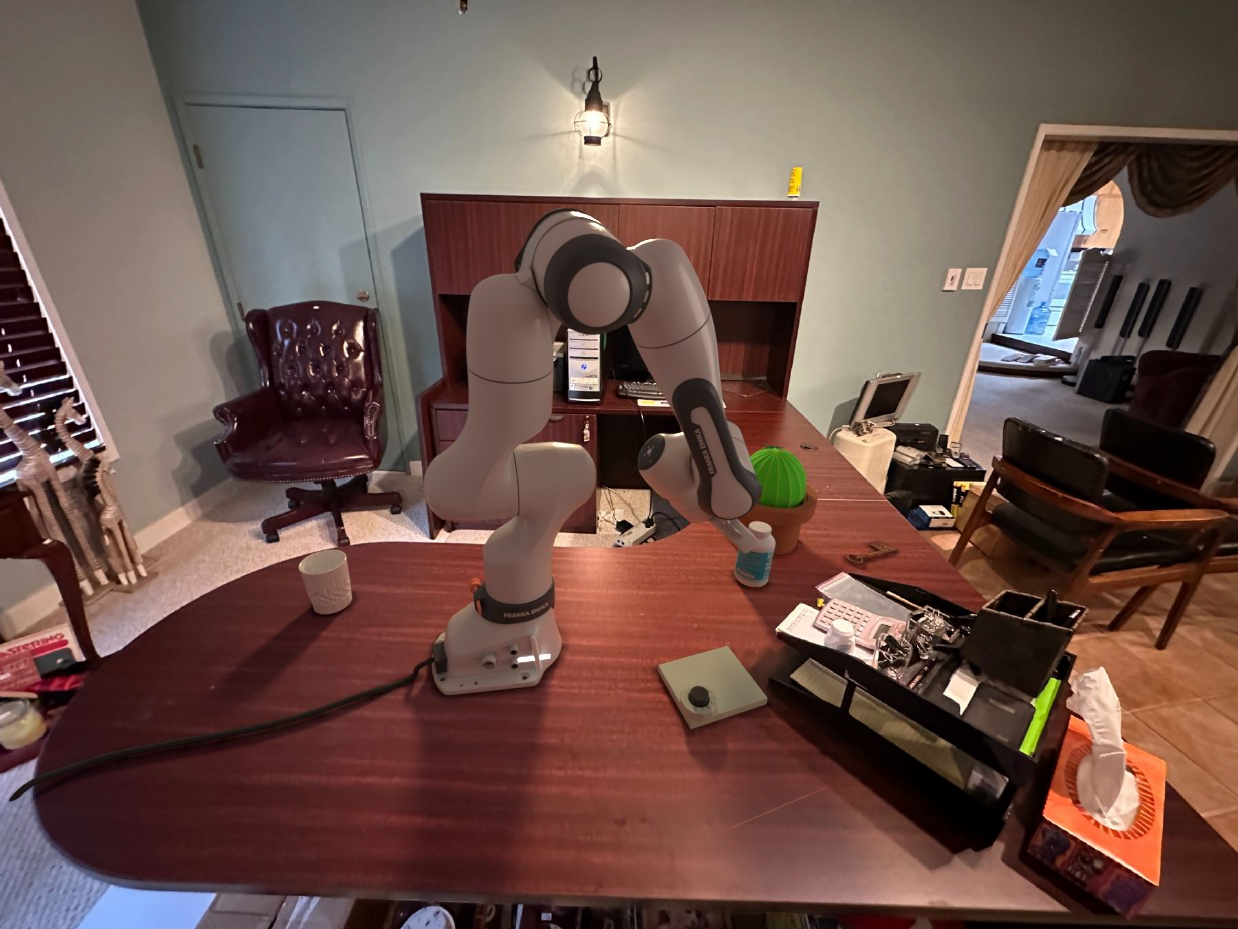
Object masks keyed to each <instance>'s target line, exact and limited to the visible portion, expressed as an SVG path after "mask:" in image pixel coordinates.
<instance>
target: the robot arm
mask: <svg viewBox="0 0 1238 929" xmlns="http://www.w3.org/2000/svg"><path fill="white" fill-rule="evenodd" d="M513 268H514V271H515V273H499V274H495V275H492V276H488V277H486V278H484V279H482V280H481V281H479V282H478V283H477V284H476V285H475V287H474V288H473V289H472V291H471V294H470V298H469V302H468V311H467V322H466V338H465V345H466V348H465V349H466V367H467V368H466V369H467V383H468V384H467V385H468V386H467V387H468V405H467V406H468V409H467V417H466V420H465V423H464V426H463V428H462V430H461V432H460V434H458V436H457V438H456V439H455V440H454V442H453V443H452V444H450V446H449V447H448V448H446V449H445V450H444V451H442V452H441V453H439V454H438V455H436V456H435V457H434V458H433V459H432V460H431V462H430V463H429V465H427V468H426V470H425V472H424V476H423V481H422V482H423V483H422V489H423V496H424V500H425V501H426V504H427V505H428V507H429V509H430V510H431V511H432V512H433V514H435V516H437V517H438V518H439V519H440V520H444V521H457V522H473V523H474V522H482V521H483V522H484V521H489V520H498V519H505V518H511V519H510V520H509V521H507V522H506V523H504V524H503V525H501V526H500V527H498V528H496V529H495V530H494V531H493V532H492V533H491V534H490V536H489V537H488V538H487V540H486V541H485V544H484V546H483V548H482V562H483V576H484V581H483V582H481V579H480V578H479V577H472V578H470V579H469V581H468V587H469V589H468V590H469V592H470V593H472V594H473V596H472V597H473V600H472V601H471V602H470V603H468V604H467V605H466V606H464V607H463V608H461V609H460V610H459V611H457V612H456V613H454V614H453V615H452V616H451V617H450V619H449V620H448V622H447V625H446V627H445V631H444V632H442V633H440V634H439V636H438V637H437V638H436V640H435V643H434V644H431V645H430V646H431V648H430V649H431V657H430V658H427V659H425V660H423V661H420V662H419V663H418V664H417V665H415V666H414V667H413V671H412V673H411V674H410V675H408V676H406V677H405V678H403V679H400V680H399V681H395V682H393V683H389V684H386V685H383V686H378V687H376V688H370V689H367V690H364V691H362V692H358V693H356V694H353V695H351V696H348V697H345V698H342V699H339V700H336V701H334V702H331V703H328V704H326V705H323V706H320V707H317V708H314V709H311V710H308V711H305V712H301V713H298V714H295V715H294V714H293V715H291V716H286V717H284V718H279V719H276V720H271V721H266V722H263V723H258V724H253V725H252V724H251V725H248V726H242V727H238V728H232V729H228V730H223V731H218V732H212V733H205V734H200V735H192V736H187V737H181V738H176V739H175V738H174V739H170V740H165V741H159V742H155V743H150V744H149V743H148V744H143V745H139V746H134V747H128V748H123V749H118V750H114V751H109V752H107V753H103V754H99V755H96V756H93V757H90V758H89V757H88V758H86V759H83V760H79V761H77V762H74V763H70V764H67V765H64V766H61V767H58V768H55V769H53V770H49V771H46V772H44V773H42V774H40V775H38V776H35V777H33V778H32V779H29V780H28V781H27V782H25V783H24V784H22V785H21V786H19V787H18V788H17V789H16V790H15V791H14V792H13V794H12V795H11V796H10V797H9V799H8V802H9V803H11V802H14V801H16V800H18V799H20V798H21V797H22V796H23V795H24V794H25V793H26V792H28V791H29V790H30V789H32V788H33V787H35V786H37V785H38V784H41V783H43V782H45V781H48V780H50V779H52V778H55V777H59V776H61V775H65V774H68V773H71V772H73V771H76V770H80V769H83V768H86V767H89V766H93V765H95V764H99V763H102V762H105V761H109V760H113V759H118V758H121V757H126V756H131V755H137V754H142V753H147V752H152V751H159V750H162V749H168V748H174V747H178V746H183V745H190V744H196V743H203V742H208V741H214V740H220V739H225V738H231V737H234V736H238V735H239V736H240V735H244V734H249V733H254V732H260V731H264V730H268V729H273V728H277V727H280V726H285V725H288V724H292V723H295V722H299V721H302V720H305V719H309V718H311V717H314V716H317V715H322V714H323V713H327V712H329V711H332V710H335V709H337V708H340V707H343V706H346V705H348V704H351V703H354V702H355V701H356V702H357V701H358V700H361V699H364V698H367V697H371V696H375V695H378V694H381V693H385V692H387V691H390V690H393V689H395V688H398V687H401V686H404V685H406V684H408V683H410V682H412V681H414V679H416V678H417V677H418V676H419V674H420V670H422V669H423V668H425V667H426V666H429V665H431V671H432V677H433V681H434V683H435V685H436V687H437V689H438V690H439V691H440V692H441V693H442V694H443V695H445V696H458V695H466V694H474V693H475V694H476V693H484V692H492V691H493V692H494V691H503V690H511V689H519V688H520V689H522V688H530V687H534V686H536V685H538V684H539V683H540V681H541V679H542V677H543V675H544V673H545V671H546V670H547V669H548V668H549V667H550V666H551V665H553V663H554V662H555V661H556V660H557V658H558V657H559V655H560V653H561V651H562V648H563V640H562V639H563V638H562V634H561V633H560V630H559V628H558V625H557V621H556V615H555V611H554V610H555V605H556V604H555V603H556V602H555V601H556V584H555V579H554V577H553V575H552V574H553V573H552V571H553V570H552V567H553V554H554V545H555V542H556V539H557V536H558V534H559V532H560V531H561V529H562V528H563V526H564V524H565V523H566V521H567V520H568V519H569V518H570V516H571V515H572V514H574V513H575V511H577V510H578V509H579V508H580V507H581V506H582V505H585V504H586V503H587V502H588V501H589V500H590V498H591V497H592V495H593V493H594V490H595V488H596V484H597V468H596V464H595V462H594V460H593V458H592V456H591V454H590V453H589V452H588V450H586V448H585V447H583V446H582V445H581V444H576V443H569V442H559V441H558V442H557V441H546V442H545V441H544V442H534V443H533V442H532V443H525V442H526V441H529V440H530V439H532V438H533V437H535V436H536V435H538V434H539V433H540V432H541V431H543V429H544V428H545V427H546V426H547V424H548V423H549V421H550V418H551V416H552V413H553V398H554V397H553V396H554V394H553V393H554V359H555V355H554V354H555V351H554V345H555V342H556V337H557V334H558V331H559V329H560V327H561V326H562V325H563V326H565V327H566V328H568V329H569V330H571V331H574V332H576V333H578V334H582V335H587V336H597V335H598V336H599V335H603V334H608V333H611V332H613V331H615V330H617V329H619V328H621V327H623V326H627V327H628V329H629V332H630V335H631V337H632V340H633V342H634V344H635V347H636V348H637V351H638V353H639V354H640V357H641V359H642V360H643V362H644V364H645V366H646V368H647V370H648V371H649V373H650V375H651V376H652V378H653V380H654V381H655V383H656V385H657V387H658V388H659V390H660V392H661V393H662V395H663V397H664V399H665V401H666V402H667V404H668V406H669V407H670V409H671V412H672V413H673V414H674V416H675V418H676V420H677V422H678V424H679V426H680V429H681V432H678V433H657V434H654V435H652V436H651V437H650V438H648V440H646V441H645V443H644V444H643V445H642V447H641V448H640V450H639V452H638V457H637V469H638V472H639V474H640V476H641V477H642V478H643V480H644V481H645V482H646V483H647V484H648V485H649V487H650V488H651V489H652V490H653V491H654V492H655V493H656V494H658V495H659V497H661V498H662V499H664V500H667V501H668V503H669V504H670V506H671V507H672V508H673V509H674V510H675V511H676V512H678V513H679V515H681V516H682V518H684V519H685V520H687V522H689V523H691V524H697V525H699V524H703V523H709V524H711V526H713V527H714V528H715V529H716V530H717V531H718V532H719V533H720V534H721V535H722V536H724V537H725V539H727V540H728V541H729V542H730V543H731V544H733V545H734V546H735V547H736V548H737V550H738V549H739V550H741V551H742V552H743V553H745V554H746V553H748V552H750V551H751V550H752V549H753V548H754V547H755V545H756V544H757V542H758V539H757V538H756V537H755V536H754V535H753V534H752V533H751V532H750V531H749V530H748V529H747V528H746V527H745V526H744V525H743V524H742V523H741V522H740V521H739V520H738V518H741V517H743V516H745V515H746V514H748V513H749V512H750V511H751V510H752V509H753V508H754V507H755V506H756V504H757V503H758V501H759V500H760V498H761V496H762V487H761V484H760V482H759V480H758V478H757V476H756V474H755V471H754V468H753V465H752V462H751V459H750V457H751V455H750V454H749V451H748V448H747V445H746V442H745V439H744V437H743V434H742V431H741V429H740V427H739V425H737V424H736V423H735V422H733V421H731V420H728V419H727V417H726V412H725V407H724V400H723V390H722V381H721V370H720V362H719V360H720V359H719V350H718V342H717V341H718V340H717V336H716V330H715V324H714V320H713V316H712V312H711V308H710V306H709V302H708V299H707V296H706V294H705V291H704V288H703V286H702V284H701V281H700V279H699V276H698V274H697V272H696V270H695V268H694V267H693V264H692V262H691V261H690V259H689V257H688V255H687V254H686V252H685V250H684V249H683V248H682V247H681V245H679V244H678V243H677V242H676V241H673V240H671V239H668V238H653V239H648V240H644V241H642V242H640V243H638V244H636V245H634V246H631V247H626V246H625V245H624V244H623V243H622V242H621V241H620V240H619V239H618V238H617V237H615V236H614V234H613V232H611V230H610V229H608V228H607V226H605V225H604V224H602V223H601V222H600V221H598V220H597V219H595V218H593V217H592V216H591V215H589V214H588V213H587V212H584V211H582V210H580V209H576V208H572V207H560V208H556V209H552V210H549V211H548V212H546V213H544V214H543V215H541V216H540V217H539V218H538V219H537V221H536V222H535V223H534V224H533V226H532V227H531V229H530V231H529V233H528V235H527V237H526V239H525V240H524V243H523V245H522V246H521V248H520V249H519V252H518V254H517V256H516V257H515V259H514V262H513ZM481 583H482V584H481ZM34 778H35V779H34Z"/></svg>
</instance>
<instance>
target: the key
mask: <svg viewBox="0 0 1238 929" xmlns="http://www.w3.org/2000/svg"><path fill="white" fill-rule="evenodd" d="M869 545H870V547H873V548H874V549H877V550H878V551H875V552H870V553H865V554H861V555H859V556H858V555H855V554H848V555H846V559H847V560H848V561H849V562H851V563H852V564H856V565H861V564H863V563H864V559H869V558H871V557H876V556H879V555H880V556H881V555H884V554H887V553H891V552H895V551H897V547H891V546H889V545H887V544H885V543H884V542H882V541H878V542H874V543H870V544H869ZM852 558H854V559H855V560H854V559H852ZM858 560H859V561H858Z"/></svg>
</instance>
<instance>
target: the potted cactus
mask: <svg viewBox="0 0 1238 929" xmlns="http://www.w3.org/2000/svg"><path fill="white" fill-rule="evenodd" d="M792 452H793V451H788V450H787V448H784V447H783V446H781V445H780V446H779V445H776V446H774V445H772V444H767V445H764V447H762V448H761V449H760V450H757V451H755V452H754V453H753V454H752V455H750V459H751V462H752V465H753V468H754V471H755V474H756V476H757V478H758V480H759V482H760V484H761V487H762V496H761V498H760V500H759V501H758V503H757V504H756V506H755V507H754V508H753V509H752V510H751V511H750V512H749V513H748V514H746V515H745V516H743V517H741V518H738V520H739V521H740V522H741V523H742V524H743V525H744V526H745V527H746V528H747V529H748V528H749V524H750V523H751V522H755V521H759V522H764V523H766V524H768V525H770V526H771V529H772V530H771V535H772V536H773V538H774V540H775V549H774V554H773V556H782V555H783V556H784V555H786V554H789V553H791V552H792V551H793V550H794V549H795V548H796V546H797V545H798V541H799V537H800V532H801V528H802V525H804V524H806V523H808V522H809V521H810V520H812V519H813V517H814V515H815V513H816V509H817V505H818V500H819V499H818V498H819V497H818V494H817V492H816V491H815V489H814V488H813V487H811V486H810V485H809V484H807V482H808V481H809V480H808V479H807V475H808V472H806V470H805V468H804V465H803V461H801V462H800V460H799V459H798V456H797V455H794V454H793V453H792Z"/></svg>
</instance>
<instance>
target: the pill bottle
mask: <svg viewBox="0 0 1238 929" xmlns="http://www.w3.org/2000/svg"><path fill="white" fill-rule="evenodd" d="M748 530H749V531H750V532H751V533H752V534H753V535H754V536H755V537H756V538H757V539H758V542H757V544H756V545H755V547H754V548H753V549H752V550H751V551H750V552H748V553H746V554H745V553H743V552H742V551H741V550H739V549H738V548H737V555H736V561H735V566H734V573H733V574H734V577H735V579H736V580H737V581H738V582H739V583H740V584H742V585H744V586H746V587H749V588H761V587H763V586H765V585H766V584H767V583H768V581H769V578H770V573H771V569H772V563H773V558H774V555H773V554H774V549H775V540H774V538H773V536H772V535H771V530H772V529H771V526H770V525H768V524H766V523H764V522H759V521H755V522H751V523H750V524H749V528H748Z"/></svg>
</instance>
